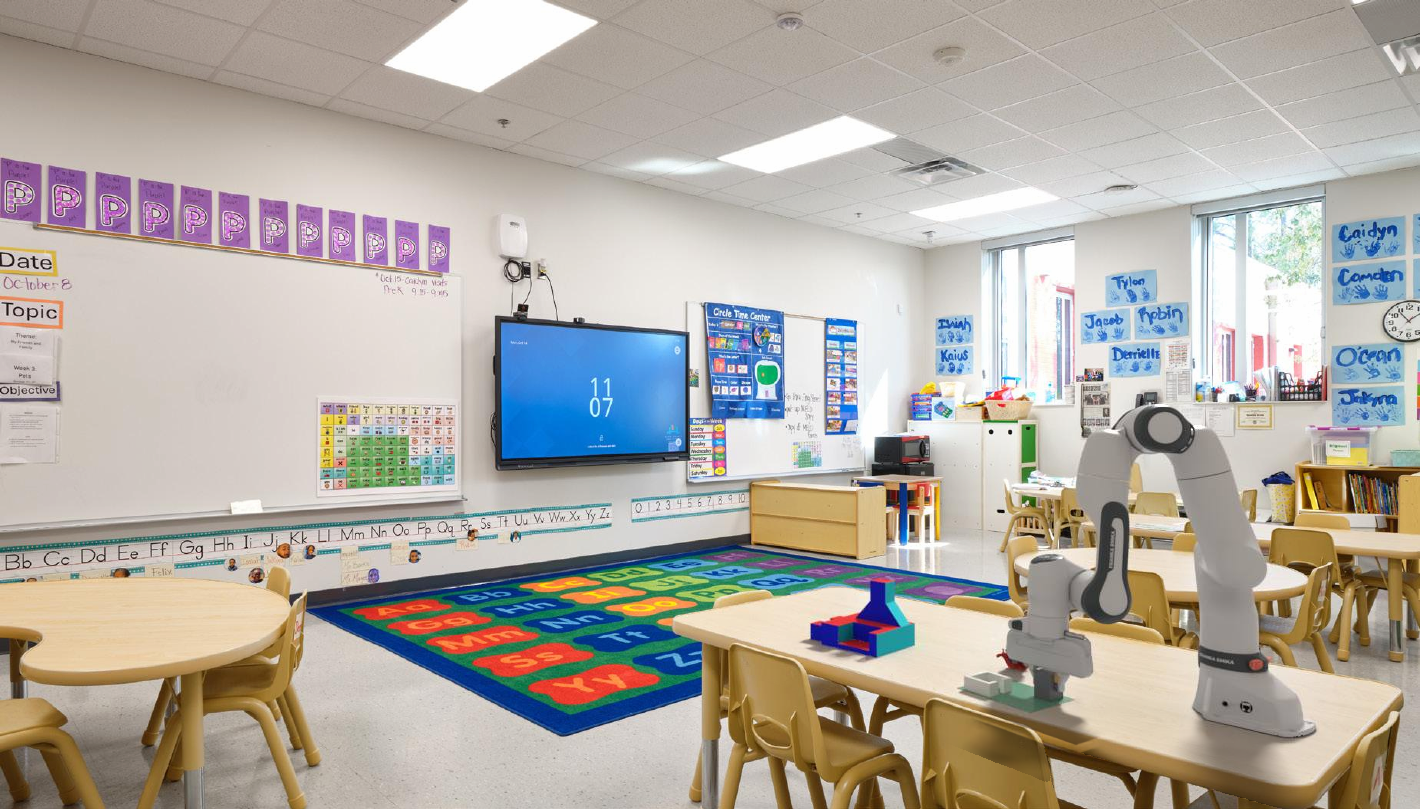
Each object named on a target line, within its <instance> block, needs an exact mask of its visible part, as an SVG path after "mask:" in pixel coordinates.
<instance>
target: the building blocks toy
mask: <svg viewBox="0 0 1420 809" xmlns="http://www.w3.org/2000/svg"><path fill="white" fill-rule="evenodd" d="M895 582H896V581H895V580H892V579H885V578H875V579H872V580H869V583H870V584H869V595H870V597H869V602H867V604H866V605H864V607H863V608H862V609H861V611H860V612H857V613H856V612H855V613H853V614H849V615H845V616H843V615H837V616H832V617H830V618H829V620H824V621H823V620H817V621H812V622H810V625H809V626H810V629H809V630H810V631H809V633H810V635H809V636H810V638H809V639H810V640H813V641H817V642H820V643H821V645H822V646H826V647H827V646H828V647H830V648H834V649H840V650H843V651H846V652H847V651H848V652H850V653H851V652H852V653H856V654H858V655H859V654H860V655H865V656H868V657H873V658H877V659H878V658H880V657H883V656H886V655H889V654H892V653H893V654H894V653H896V652H899V651H902V650H905V649H907V648H910V647H914V646H915V645H916V642H915V640H916V638H915V637H916V625H915V624H916V623H915V622H911V621H909V620H908V619H907V618H906V615H904V614H905V613H903V611H902V610H901V608H900V606H899V605H898V604H897V602H896V600H895V598H896V597H895V596H896V593H895V592H896V591H895V589H896V586H895V585H896V584H895Z"/></svg>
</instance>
